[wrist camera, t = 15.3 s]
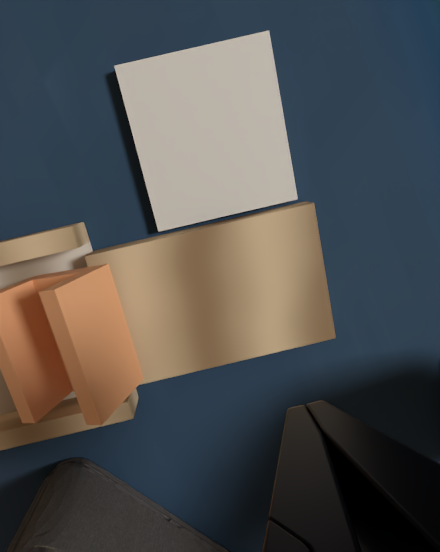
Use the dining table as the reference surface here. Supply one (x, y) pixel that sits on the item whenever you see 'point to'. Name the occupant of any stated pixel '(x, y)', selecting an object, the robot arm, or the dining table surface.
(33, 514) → the camera
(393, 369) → the dining table surface
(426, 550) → the robot arm
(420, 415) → the dining table surface
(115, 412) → the rail
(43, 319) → the clip
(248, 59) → the pad
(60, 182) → the dining table surface
